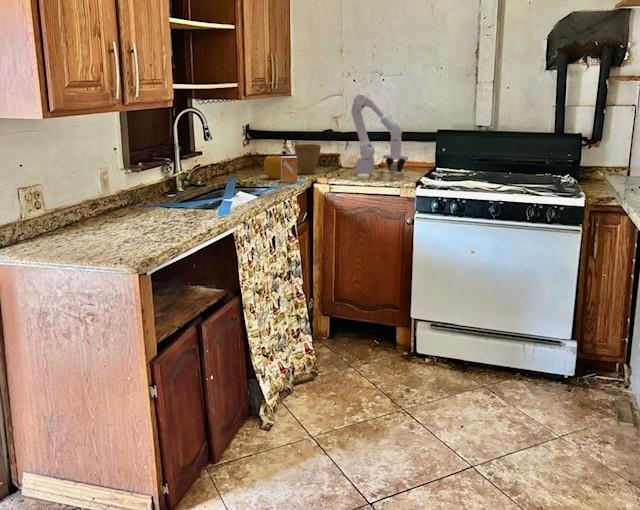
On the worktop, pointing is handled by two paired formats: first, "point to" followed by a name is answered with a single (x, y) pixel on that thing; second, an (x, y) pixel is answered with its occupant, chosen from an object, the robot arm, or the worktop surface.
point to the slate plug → (394, 167)
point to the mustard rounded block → (273, 166)
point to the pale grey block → (362, 176)
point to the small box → (289, 169)
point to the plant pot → (307, 157)
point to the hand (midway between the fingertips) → (395, 172)
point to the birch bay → (386, 176)
